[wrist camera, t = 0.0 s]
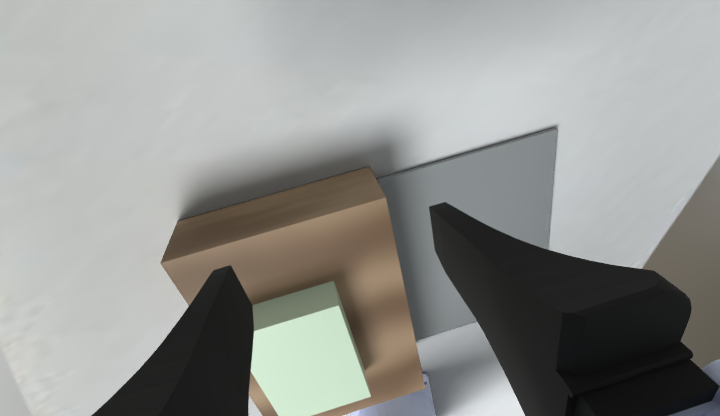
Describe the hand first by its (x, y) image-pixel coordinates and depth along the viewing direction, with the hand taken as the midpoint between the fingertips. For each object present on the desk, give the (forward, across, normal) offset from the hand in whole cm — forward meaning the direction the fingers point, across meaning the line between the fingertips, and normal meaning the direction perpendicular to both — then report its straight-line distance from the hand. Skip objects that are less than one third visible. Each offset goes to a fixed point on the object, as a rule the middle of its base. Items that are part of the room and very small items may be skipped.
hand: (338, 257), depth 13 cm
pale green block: (+6, +4, +11) cm, 13 cm away
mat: (+10, -9, +11) cm, 18 cm away
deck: (+10, +3, +11) cm, 15 cm away
